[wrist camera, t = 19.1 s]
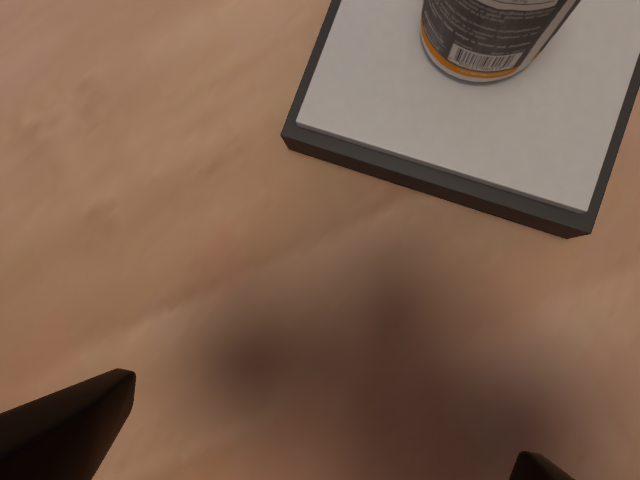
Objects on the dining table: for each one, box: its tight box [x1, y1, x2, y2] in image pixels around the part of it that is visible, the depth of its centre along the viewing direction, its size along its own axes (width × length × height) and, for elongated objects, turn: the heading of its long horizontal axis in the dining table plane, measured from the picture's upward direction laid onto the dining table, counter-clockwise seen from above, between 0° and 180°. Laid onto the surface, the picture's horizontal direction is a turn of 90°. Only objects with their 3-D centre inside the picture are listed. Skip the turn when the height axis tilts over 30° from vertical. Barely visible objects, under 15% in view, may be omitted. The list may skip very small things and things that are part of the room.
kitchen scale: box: [281, 0, 640, 239], centre depth 19 cm, size 15×16×3 cm
